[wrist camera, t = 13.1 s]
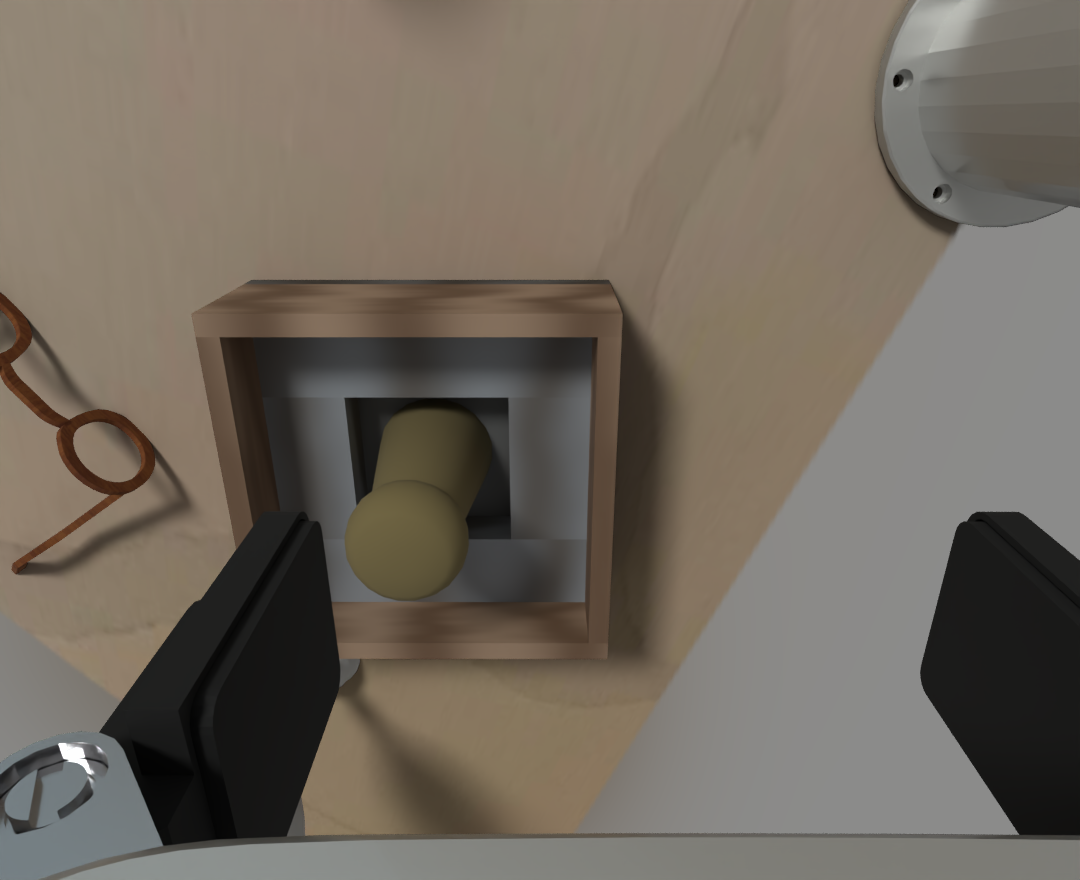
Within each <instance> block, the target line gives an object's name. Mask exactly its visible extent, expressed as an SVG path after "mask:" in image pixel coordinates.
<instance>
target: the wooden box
mask: <svg viewBox="0 0 1080 880" xmlns="http://www.w3.org/2000/svg"><path fill="white" fill-rule="evenodd" d="M191 315H192V320H193V325H194V331H195V336H196V341H197V346H198V351H199V357H200V362H201V367H202V372H203V378H204V383H205V388H206V393H207V399H208V404H209V409H210V414H211V419H212V425H213V430H214V435H215V440H216V446H217V451H218V456H219V461H220V467H221V472H222V477H223V482H224V487H225V493H226V498H227V503H228V508H229V514H230V519H231V524H232V529H233V535H234V540H235V545H236V550H237V548H238V547H239V545H240V544H241V542H242V541H243V540H244V538H245V537H246V535H247V534H248V533H249V531H250V530H251V528H252V527H253V526H254V524H255V523H256V521H257V520H258V518H259V517H260V516H261V514H262V513H264V512H266V511H304V512H305V513H306V514H307V516H308V518H309V521H318V522H319V523H320V525H321V529H322V535H323V542H324V549H325V557H326V564H327V571H328V579H329V586H330V593H331V601H332V608H333V616H334V623H335V630H336V638H337V645H338V652H339V659H607V658H608V635H609V613H610V590H611V568H612V545H613V523H614V500H615V478H616V455H617V432H618V410H619V387H620V365H621V342H622V320H623V313H622V311H621V308H620V306H619V303H618V301H617V299H616V296H615V294H614V291H613V289H612V286H611V284H610V281H609V280H251V281H249V282H247V283H246V284H244V285H242V286H240V287H238V288H237V289H235V290H233V291H231V292H230V293H228V294H226V295H224V296H222V297H221V298H219V299H217V300H215V301H214V302H212V303H210V304H208V305H206V306H205V307H203V308H201V309H199V310H197V311H196V312H194V313H192V314H191ZM422 399H444V400H448V401H451V402H454V403H458V404H460V405H462V406H463V407H465V408H466V409H468V410H469V411H471V412H473V413H474V414H475V415H476V416H477V417H478V419H479V420H480V421H481V422H482V423H483V425H484V426H485V427H486V430H487V432H488V435H489V437H490V440H491V442H492V461H491V464H490V467H489V470H488V473H487V475H486V477H485V479H484V481H483V484H482V486H481V488H480V490H479V492H478V494H477V496H476V498H475V500H474V502H473V504H472V506H471V508H470V510H469V513H468V515H467V517H466V519H465V520H466V523H467V526H468V537H469V547H468V553H467V556H466V559H465V562H464V565H463V568H462V569H461V571H460V572H459V574H458V575H457V576H456V577H455V579H454V580H453V581H452V582H451V584H450V585H449V586H448V587H446V588H445V589H443V590H441V591H440V592H438V593H437V594H435V595H433V596H430V597H426V598H423V599H419V600H416V601H397V600H393V599H389V598H385V597H382V596H380V595H378V594H377V593H375V592H373V591H371V590H370V589H368V588H367V587H366V586H365V585H364V584H363V583H362V582H361V581H360V580H359V579H358V578H357V577H356V575H355V574H354V572H353V570H352V568H351V566H350V565H349V563H348V561H347V558H346V550H345V532H346V528H347V524H348V520H349V518H350V516H351V514H352V512H353V511H354V509H355V508H356V506H357V505H358V504H359V502H360V501H361V499H362V498H364V497H365V496H366V495H368V494H369V493H370V492H372V489H373V483H374V477H375V471H376V466H377V460H378V454H379V448H380V443H381V439H382V435H383V431H384V427H385V426H386V424H387V423H388V422H389V420H390V419H391V417H392V416H393V414H394V413H396V412H397V411H399V410H400V409H401V408H403V407H404V406H405V405H407V404H409V403H413V402H416V401H419V400H422Z"/></svg>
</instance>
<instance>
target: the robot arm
mask: <svg viewBox="0 0 1080 880" xmlns="http://www.w3.org/2000/svg"><path fill="white" fill-rule="evenodd" d="M895 75H898V77H899V83H898V85H897V86H896V87H894V86H893V79H894V76H895ZM875 123H876V130H877V136H878V143H879V146H880V149H881V151H882V154H883V157H884V159H885V162H886V165H887V167H888V169H889V171H890V172H891V174H892V175H893V177H894V178H895V180H896V181H897V183H898V185H899V186H900V188H901V189H902V190H903V191H904V192H905V193H907V194H908V195H909V196H910V197H911V198H912V199H913V200H914V201H915V202H916V203H917V204H918V205H920V206H922V207H923V208H925V209H927V210H928V211H930V212H932V213H933V214H935V215H937V216H939V217H943V218H946V219H949V220H952V221H955V222H958V223H962V224H968V225H973V226H978V227H1007V226H1013V225H1018V224H1023V223H1029V222H1033V221H1035V220H1038V219H1041V218H1043V217H1046V216H1049V215H1051V214H1054V213H1057V212H1059V211H1061V210H1062V209H1064V208H1066V207H1068V206H1074V207H1079V208H1080V0H909V1H908V3H907V5H906V7H905V8H904V10H903V12H902V14H901V15H900V17H899V19H898V21H897V22H896V24H895V26H894V28H893V30H892V32H891V35H890V38H889V40H888V43H887V46H886V48H885V51H884V54H883V56H882V59H881V64H880V69H879V74H878V78H877V83H876V88H875ZM935 188H938V193H937V195H936V196H935V197H933V192H934V190H935ZM920 674H921V682H922V686H923V689H924V691H925V693H926V695H927V696H928V698H929V699H930V701H931V702H932V704H933V706H934V707H935V709H936V710H937V711H938V713H939V714H940V716H941V718H942V719H943V721H944V722H945V724H946V725H947V727H948V728H949V729H950V731H951V733H952V734H953V736H954V737H955V739H956V740H957V742H958V743H959V745H960V746H961V748H962V749H963V751H964V752H965V754H966V755H967V757H968V758H969V760H970V761H971V763H972V764H973V766H974V767H975V769H976V770H977V772H978V773H979V775H980V776H981V778H982V779H983V781H984V782H985V784H986V785H987V787H988V788H989V790H990V791H991V793H992V794H993V796H994V797H995V799H996V800H997V802H998V803H999V805H1000V806H1001V808H1002V809H1003V811H1004V812H1005V814H1006V815H1007V817H1008V818H1009V820H1010V821H1011V823H1012V824H1013V826H1014V827H1015V829H1016V830H1017V832H1018V833H1019V835H965V834H963V835H962V834H960V835H958V834H766V833H761V834H758V833H757V834H756V833H751V834H750V833H749V834H748V833H747V834H746V833H741V834H740V833H736V834H735V833H729V834H728V833H714V834H713V833H708V834H707V833H701V834H700V833H609V834H608V833H607V834H605V833H601V834H600V833H599V834H598V833H596V834H595V833H594V834H592V833H590V834H373V835H313V836H289V837H287V834H288V831H289V829H290V826H291V823H292V820H293V817H294V815H295V812H296V809H297V806H298V803H299V801H300V798H301V795H302V792H303V789H304V786H305V784H306V781H307V778H308V775H309V772H310V770H311V767H312V764H313V761H314V758H315V756H316V753H317V750H318V747H319V744H320V741H321V739H322V736H323V733H324V730H325V727H326V725H327V722H328V719H329V716H330V713H331V711H332V708H333V705H334V702H335V699H336V696H337V694H338V690H339V685H340V676H341V669H340V660H339V652H338V645H337V638H336V630H335V623H334V616H333V608H332V601H331V593H330V586H329V579H328V571H327V564H326V557H325V549H324V542H323V535H322V529H321V525H320V523H319V522H318V521H309V518H308V516H307V514H306V513H305V512H304V511H266V512H264V513H262V514H261V516H260V517H259V518H258V520H257V521H256V523H255V524H254V526H253V527H252V528H251V530H250V531H249V533H248V534H247V535H246V537H245V538H244V540H243V541H242V542H241V544H240V545H239V547H238V548H237V550H236V551H235V552H234V554H233V555H232V557H231V558H230V559H229V561H228V562H227V564H226V565H225V566H224V568H223V569H222V571H221V572H220V574H219V575H218V576H217V578H216V579H215V581H214V582H213V583H212V585H211V586H210V588H209V589H208V591H207V592H206V593H205V595H204V596H203V598H202V599H201V600H199V601H196V602H194V603H193V604H192V605H191V606H190V607H189V608H188V610H187V611H186V612H185V614H184V615H183V617H182V618H181V619H180V621H179V622H178V623H177V625H176V626H175V628H174V629H173V630H172V632H171V633H170V635H169V636H168V637H167V639H166V640H165V641H164V643H163V644H162V646H161V647H160V648H159V650H158V651H157V653H156V654H155V655H154V657H153V658H152V660H151V661H150V662H149V664H148V665H147V666H146V668H145V669H144V671H143V672H142V673H141V675H140V676H139V678H138V679H137V680H136V682H135V683H134V684H133V686H132V687H131V689H130V690H129V691H128V693H127V694H126V696H125V697H124V698H123V700H122V701H121V703H120V704H119V705H118V707H117V708H116V709H115V711H114V712H113V714H112V715H111V716H110V718H109V719H108V721H107V722H106V723H105V725H104V726H103V727H102V729H101V730H100V732H99V733H97V732H82V731H80V732H73V733H67V734H60V735H56V736H53V737H50V738H47V739H44V740H41V741H38V742H35V743H33V744H31V745H29V746H27V747H25V748H23V749H21V750H19V751H17V752H16V753H13V754H12V755H10V756H8V757H7V758H6V759H4V760H3V761H1V762H0V880H1080V560H1078V559H1077V558H1076V557H1075V556H1073V555H1072V554H1071V553H1070V552H1069V551H1067V550H1066V549H1065V548H1064V547H1063V546H1061V545H1060V544H1059V543H1057V541H1055V540H1054V539H1053V538H1052V537H1050V536H1049V535H1048V534H1047V533H1045V532H1044V531H1043V530H1042V529H1040V528H1039V527H1038V526H1037V525H1036V524H1035V523H1033V522H1032V521H1031V520H1030V519H1029V518H1027V517H1026V516H1025V515H1023V514H1021V513H1019V512H976V513H974V514H972V515H971V516H970V518H969V519H968V521H967V522H962V523H960V524H959V526H958V527H957V530H956V532H955V536H954V540H953V544H952V547H951V551H950V555H949V559H948V563H947V567H946V571H945V575H944V579H943V583H942V586H941V590H940V594H939V598H938V602H937V606H936V610H935V614H934V618H933V622H932V625H931V629H930V633H929V637H928V641H927V645H926V649H925V653H924V657H923V660H922V665H921V671H920Z"/></svg>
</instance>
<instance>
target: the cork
mask: <svg viewBox="0 0 1080 880" xmlns="http://www.w3.org/2000/svg"><path fill="white" fill-rule="evenodd" d="M491 461H492V442H491V440H490V437H489V435H488V432H487V430H486V427H485V426H484V425H483V423H482V422H481V421H480V420H479V419H478V417H477V416H476V415H475V414H474V413H473V412H471V411H469V410H468V409H466V408H465V407H463V406H462V405H460V404H458V403H454V402H451V401H448V400H444V399H422V400H419V401H416V402H413V403H409V404H407V405H405V406H404V407H403V408H401V409H400V410H399V411H397V412H396V413H394V414H393V416H392V417H391V419H390V420H389V422H388V423H387V424H386V426H385V427H384V431H383V435H382V439H381V443H380V448H379V454H378V460H377V466H376V471H375V477H374V483H373V489H372V492H370V493H369V494H368V495H366V496H365V497H364V498H362V499H361V501H360V502H359V504H358V505H357V506H356V508H355V509H354V511H353V512H352V514H351V516H350V518H349V520H348V524H347V528H346V532H345V550H346V558H347V561H348V563H349V565H350V566H351V568H352V570H353V572H354V574H355V575H356V577H357V578H358V579H359V580H360V581H361V582H362V583H363V584H364V585H365V586H366V587H367V588H368V589H370V590H371V591H373V592H375V593H377V594H378V595H380V596H382V597H385V598H389V599H393V600H397V601H416V600H419V599H423V598H426V597H430V596H433V595H435V594H437V593H438V592H440V591H441V590H443V589H445V588H446V587H448V586H449V585H450V584H451V582H452V581H453V580H454V579H455V577H456V576H457V575H458V574H459V572H460V571H461V569H462V568H463V565H464V562H465V559H466V556H467V553H468V547H469V537H468V526H467V523H466V520H465V519H466V517H467V515H468V513H469V510H470V508H471V506H472V504H473V502H474V500H475V498H476V496H477V494H478V492H479V490H480V488H481V486H482V484H483V481H484V479H485V477H486V475H487V473H488V470H489V467H490V464H491Z"/></svg>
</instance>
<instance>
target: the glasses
mask: <svg viewBox="0 0 1080 880" xmlns="http://www.w3.org/2000/svg"><path fill="white" fill-rule="evenodd" d="M0 310H2V311H3V312H4V313H5V315H6V316H7V317H8V318H9V319H10V321H11V322H12V324H13V326H14V328H15V331H16V342H15V344H14V345H13V347H12V348H10V349H9V350H7V351H6V352H3V353H1V354H0V375H1V378H2V380H3V382H4V383H5V385H6V386H7V387H8V388H9V389H10V390H11V391H12V392H13V393H14V394H15V395H16V396H17V397H18V398H19V399H20V400H21V401H22V402H23V403H24V404H25V405H26V406H28V407H29V408H30V409H31V410H32V411H33V412H34V413H35V414H36V415H37V416H38V417H39V418H41V419H42V420H43V421H45V422H47V423H49V424H51V425H54V426H56V427H59V428H60V429H59V430H58V432H57V438H56V439H57V445H58V450H59V454H60V456H61V458H62V460H63V462H64V464H65V465H66V467H67V468H68V470H69V471H70V472H71V473H72V474H73V475H74V476H75V477H76V478H77V479H78V480H80V481H81V482H82V483H83V484H85V485H86V486H88V487H90V488H91V489H93V490H96V491H98V492H100V493H104V494H108V495H109V496H108V497H107V498H105V499H104V500H103V501H101V502H100V503H99V504H97V505H96V506H94V507H93V508H92V509H90V510H89V511H88V512H86V513H85V514H84V515H82V516H81V517H79V518H78V519H77V520H75V521H74V522H73V523H71V524H70V525H68V526H67V527H66V528H64V529H63V530H62V531H60V532H59V533H57V534H56V535H54V536H53V537H51V538H50V539H48V540H47V541H45V542H44V543H42V544H41V545H39V546H38V547H36V548H35V549H33V550H32V551H31V552H29V553H28V554H26V555H25V556H23V557H22V558H20V559H19V560H17V561H16V562H14V563H13V565H12V571H13V572H14V573H15V574H17V573H19V572H20V571H21V570H23V569H24V568H25V567H26V565H27V562H28V561H30V560H31V559H33V558H34V557H36V556H37V555H39V554H41V553H42V552H44V551H45V550H47V549H48V548H50V547H51V546H53V545H54V544H56V543H57V542H59V541H60V540H62V539H63V538H65V537H66V536H67V535H69V534H70V533H72V532H73V531H74V530H76V529H77V528H78V527H80V526H81V525H83V524H84V523H85V522H87V521H88V520H90V519H91V518H92V517H94V516H95V515H96V514H98V513H99V512H101V511H102V510H103V509H105V508H106V507H108V506H109V505H110V504H112V503H113V502H114V501H116V500H117V499H119V498H120V497H121V496H123V495H124V494H127V493H129V492H132V491H134V490H135V489H137V488H138V487H140V486H141V485H143V484H144V483H145V482H146V481H147V480H148V479H149V478H150V476H151V474H152V472H153V470H154V466H155V455H154V451H153V448H152V446H151V444H150V442H149V441H148V439H147V438H146V436H145V435H144V434H143V433H142V432H141V431H140V430H139V429H138V428H137V427H136V426H135V425H134V424H133V423H132V422H131V421H129V420H128V419H126V418H125V417H123V416H121V415H119V414H117V413H115V412H112V411H109V410H100V409H97V410H93V411H88V412H85V413H83V414H80V415H77V416H76V417H74V418H72V419H70V420H68V419H66V418H65V417H63V416H61V415H59V414H58V413H56V412H55V411H54V410H52V409H51V408H50V407H49V406H48V405H47V404H46V403H45V402H44V401H43V400H42V399H41V398H40V397H39V396H38V395H37V394H36V393H35V392H34V391H33V390H31V389H30V388H29V387H28V386H27V385H26V384H25V383H24V382H23V381H22V380H21V379H20V378H19V377H18V376H17V374H16V373H15V371H14V370H13V368H12V366H11V364H10V363H12V362H13V361H15V360H16V359H17V358H18V357H19V356H20V355H21V354H22V353H23V352H24V351H25V350H26V349H27V348H28V346H29V345H30V343H31V339H32V333H31V328H30V326H29V324H28V321H27V320H26V318H25V317H24V315H23V314H22V312H21V311H20V310H19V309H18V308H17V307H16V306H15V305H14V304H13V303H12V302H11V301H10V300H9V299H8V298H7V297H5V296H4V295H3V294H1V293H0ZM97 421H98V422H106V423H109V424H112V425H114V426H116V427H118V428H119V429H121V430H122V431H124V432H125V433H126V434H127V435H128V436H129V437H130V438H131V439H132V440H133V441H134V443H135V444H136V446H137V447H138V449H139V452H140V454H141V467H140V470H139V472H138V473H137V475H136V476H135V477H134V478H133V479H131V480H128V481H125V482H110V481H106V480H104V479H102V478H99V477H98V476H96V475H95V474H93V473H92V472H91V471H89V470H88V469H87V468H86V467H85V466H84V465H83V464H82V462H81V461H80V460H79V458H78V457H77V455H76V452H75V450H74V445H73V437H74V433H75V432H76V430H77V429H78V428H79V427H81V426H83V425H85V424H88V423H91V422H97Z"/></svg>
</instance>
